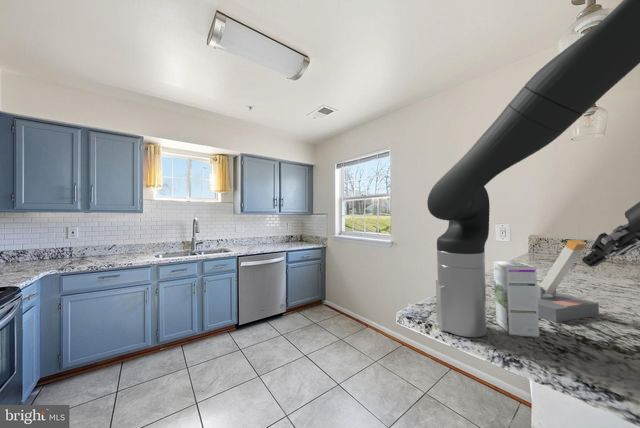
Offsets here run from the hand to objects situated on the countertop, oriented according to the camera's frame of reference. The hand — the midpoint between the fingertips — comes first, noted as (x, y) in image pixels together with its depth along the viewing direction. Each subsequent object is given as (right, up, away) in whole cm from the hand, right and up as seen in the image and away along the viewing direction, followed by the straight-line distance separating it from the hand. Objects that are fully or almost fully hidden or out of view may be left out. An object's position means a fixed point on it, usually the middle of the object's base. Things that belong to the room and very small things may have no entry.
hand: (587, 263), depth 55 cm
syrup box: (-19, -14, -3) cm, 24 cm away
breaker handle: (-2, -10, +9) cm, 13 cm away
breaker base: (-2, -14, +9) cm, 16 cm away
